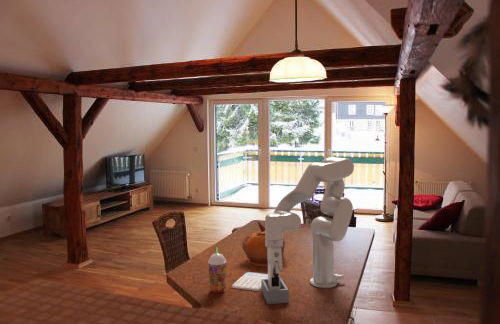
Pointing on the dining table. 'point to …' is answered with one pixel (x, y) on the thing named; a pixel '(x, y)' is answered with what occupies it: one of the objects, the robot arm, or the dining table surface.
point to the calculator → (250, 281)
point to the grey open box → (275, 293)
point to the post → (271, 279)
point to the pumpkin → (258, 248)
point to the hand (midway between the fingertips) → (274, 283)
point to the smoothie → (217, 272)
